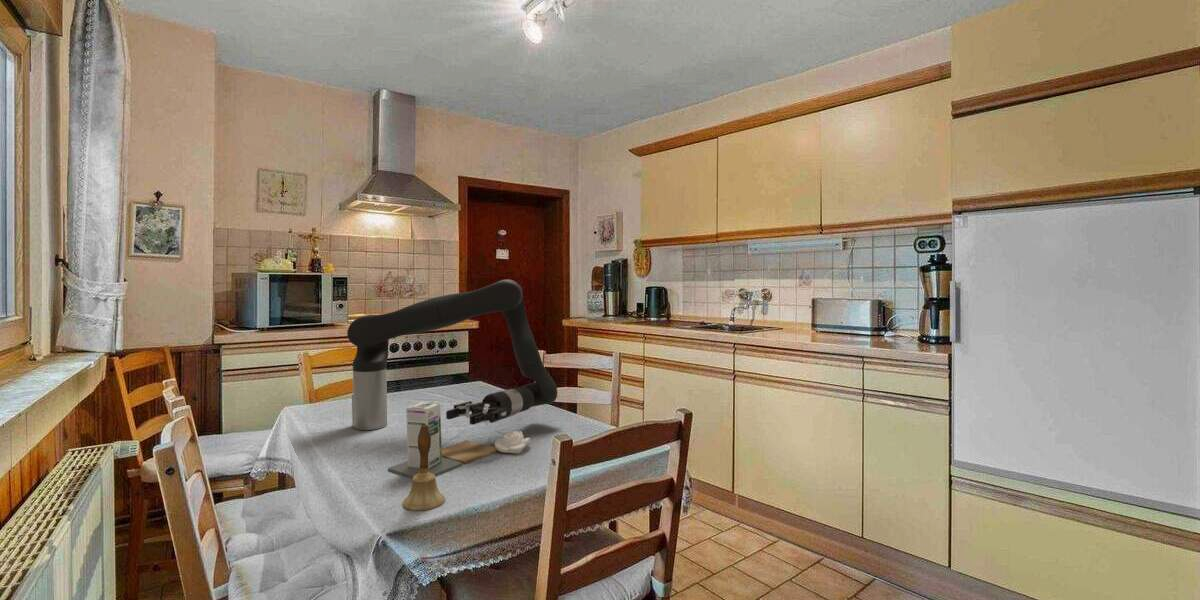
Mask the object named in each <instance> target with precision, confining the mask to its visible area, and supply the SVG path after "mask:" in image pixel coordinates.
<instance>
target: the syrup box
mask: <svg viewBox="0 0 1200 600" xmlns="http://www.w3.org/2000/svg"><path fill="white" fill-rule="evenodd" d="M405 411H406V412H405V413H406V443H407V445H406V447H407V461H408V466H409V467H412V468H419V469H420V452H419V449H418V435H419V432H420V429H421V426H422V425H428V429H429V432H430V435H431V446H430V450H429V454H428V466H429V467H428V469H430V468H431V467H432V466H434V465H436V464H438V463H439V462H441V461H442V450H441V449H442V428H441V427H442V424H441V423H442V422H441V403H439V402H431V401H428V402H427V401H425V402H424V401H420V402H418V403H416V404H414V405H411V406H408V407H406V409H405Z"/></svg>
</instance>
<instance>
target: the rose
mask: <svg viewBox="0 0 1200 600" xmlns="http://www.w3.org/2000/svg"><path fill="white" fill-rule="evenodd" d="M531 440H532V438H531V437H525V438H524V434H523V432H522V431H521V430H518V431H517V430H511V429H510V430H508V431H507V432H506V433H504V434H503V436H498V437H496V439H495V441H494V444H493V445H494V447H496V448H497V450H498V451H497V452H501V453H511V454H520V453H522V452H523V450H525V449H526V447H527V445H528V444H529V443H530V442H531Z"/></svg>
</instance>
